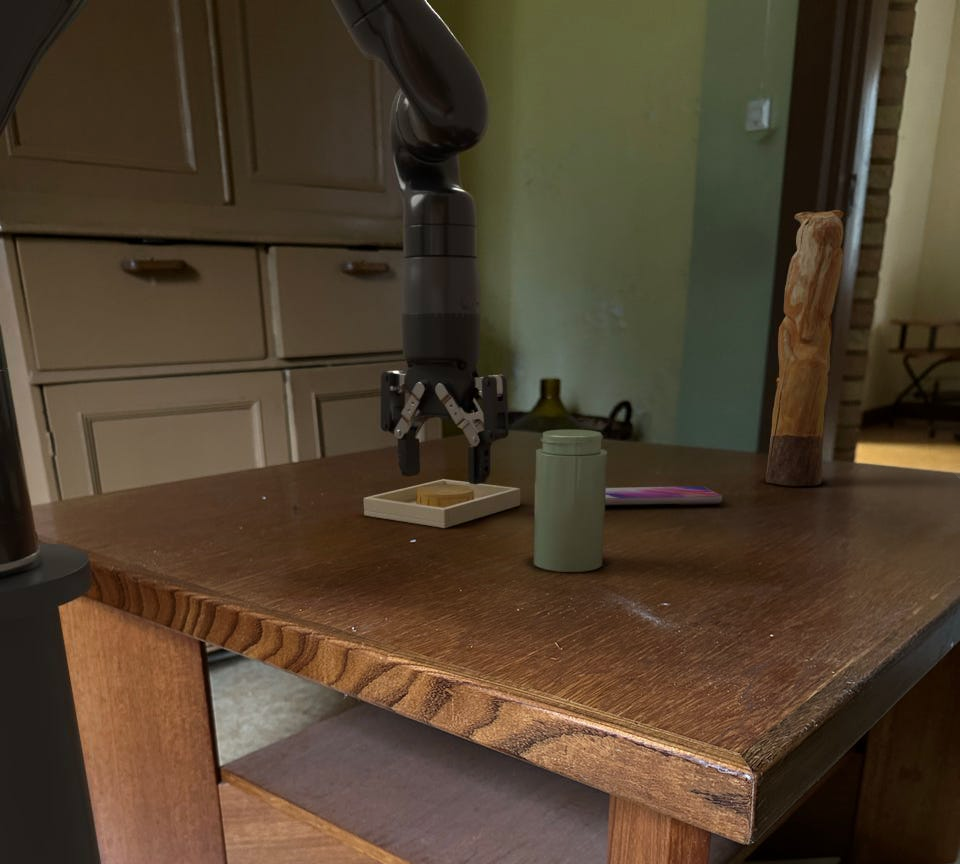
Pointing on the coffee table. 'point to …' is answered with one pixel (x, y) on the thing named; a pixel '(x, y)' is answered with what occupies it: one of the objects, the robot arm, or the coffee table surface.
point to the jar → (570, 501)
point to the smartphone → (661, 496)
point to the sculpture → (805, 352)
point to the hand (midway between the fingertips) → (443, 479)
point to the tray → (405, 508)
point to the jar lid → (444, 495)
